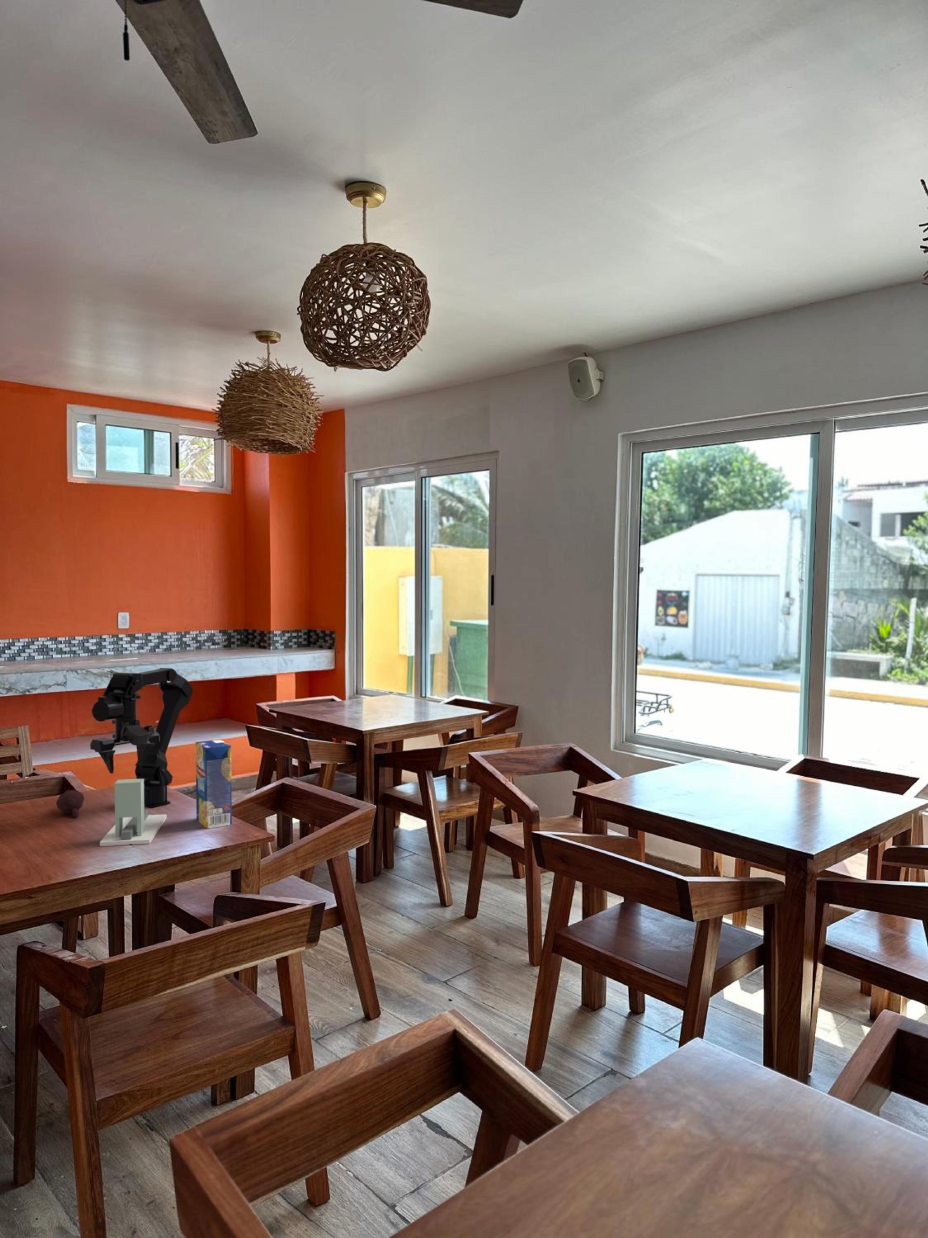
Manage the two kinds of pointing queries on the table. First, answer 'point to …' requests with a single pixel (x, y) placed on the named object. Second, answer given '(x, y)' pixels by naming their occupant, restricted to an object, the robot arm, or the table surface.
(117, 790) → the clip
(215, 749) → the beverage box
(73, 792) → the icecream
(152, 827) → the rail
